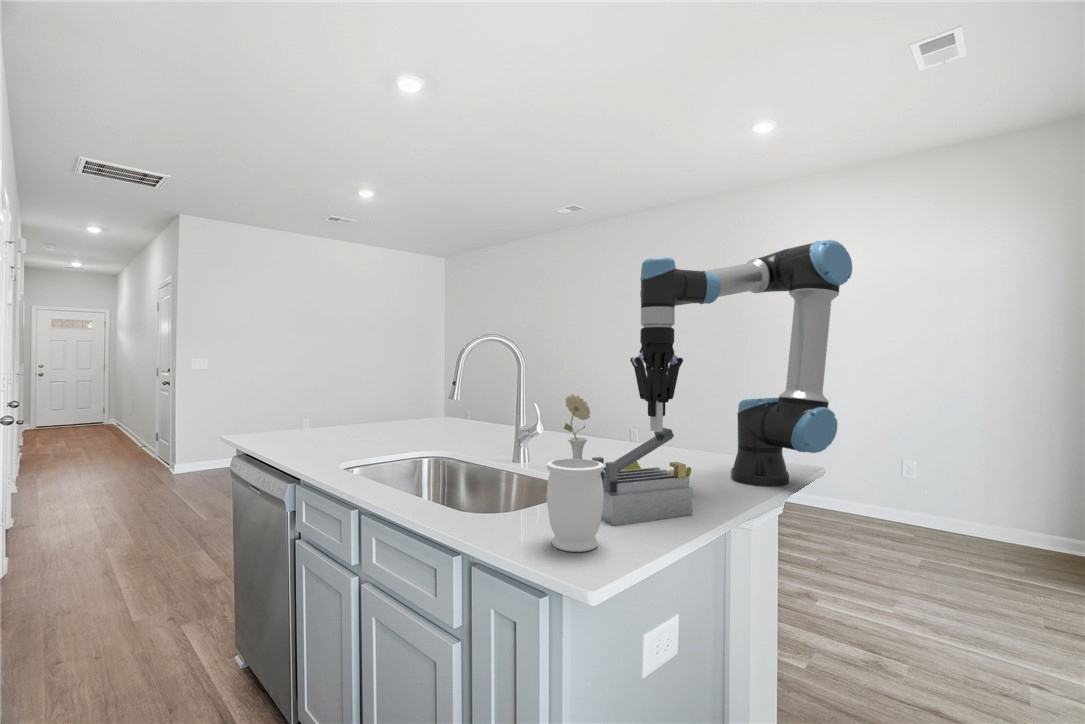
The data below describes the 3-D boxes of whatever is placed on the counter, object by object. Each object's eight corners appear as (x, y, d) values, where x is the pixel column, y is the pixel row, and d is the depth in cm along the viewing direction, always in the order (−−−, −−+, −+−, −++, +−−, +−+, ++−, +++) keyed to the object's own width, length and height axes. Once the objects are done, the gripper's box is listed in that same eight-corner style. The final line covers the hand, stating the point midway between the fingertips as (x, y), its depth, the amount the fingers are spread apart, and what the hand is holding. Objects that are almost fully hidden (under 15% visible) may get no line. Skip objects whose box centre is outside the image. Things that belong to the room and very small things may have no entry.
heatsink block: (655, 499, 130) (655, 449, 130) (692, 515, 117) (692, 460, 117) (581, 507, 122) (581, 455, 122) (612, 525, 109) (612, 467, 109)
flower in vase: (607, 497, 132) (608, 395, 132) (564, 501, 128) (565, 396, 128) (586, 485, 144) (586, 392, 144) (546, 488, 140) (546, 393, 140)
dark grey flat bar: (613, 475, 115) (609, 467, 115) (604, 472, 118) (601, 464, 118) (674, 437, 121) (671, 429, 121) (664, 435, 124) (661, 427, 124)
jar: (615, 548, 96) (615, 465, 96) (568, 559, 91) (569, 471, 91) (580, 531, 105) (580, 455, 105) (535, 541, 100) (535, 461, 100)
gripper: (671, 328, 127) (670, 427, 127) (623, 327, 122) (622, 430, 122) (691, 327, 120) (690, 431, 120) (642, 325, 115) (641, 434, 115)
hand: (656, 430), depth 121 cm, fingers closed
